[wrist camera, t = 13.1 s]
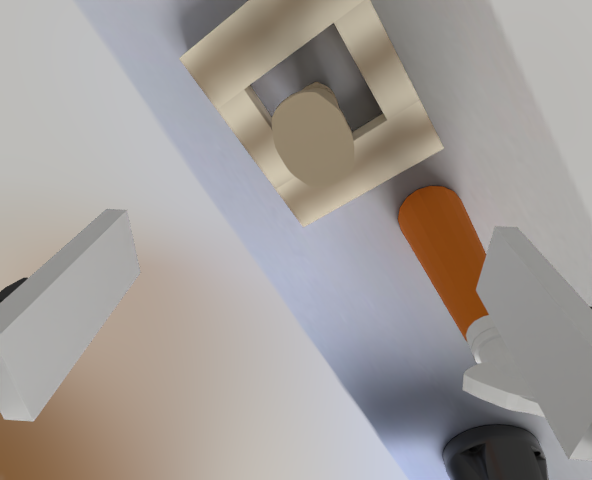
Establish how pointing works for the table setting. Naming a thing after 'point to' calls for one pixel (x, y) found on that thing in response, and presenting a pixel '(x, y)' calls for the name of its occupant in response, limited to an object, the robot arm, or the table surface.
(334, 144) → the handle
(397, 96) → the board
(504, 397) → the spray bottle
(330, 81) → the table surface
